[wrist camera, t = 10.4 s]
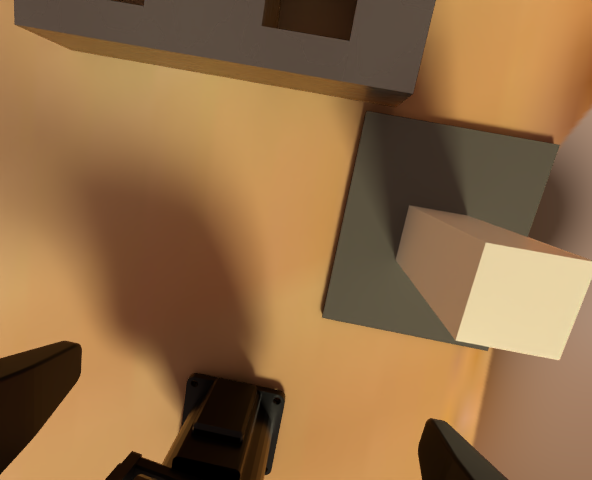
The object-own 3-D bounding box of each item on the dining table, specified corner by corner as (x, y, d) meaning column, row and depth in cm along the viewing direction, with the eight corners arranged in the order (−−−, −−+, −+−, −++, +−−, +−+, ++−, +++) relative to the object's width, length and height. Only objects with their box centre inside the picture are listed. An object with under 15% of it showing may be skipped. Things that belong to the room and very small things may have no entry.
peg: (451, 270, 19) (559, 360, 10) (395, 260, 19) (455, 340, 11) (467, 215, 18) (598, 262, 10) (408, 205, 19) (485, 242, 10)
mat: (484, 347, 20) (487, 350, 20) (322, 314, 21) (322, 317, 20) (554, 145, 18) (559, 144, 17) (365, 111, 18) (366, 110, 18)
